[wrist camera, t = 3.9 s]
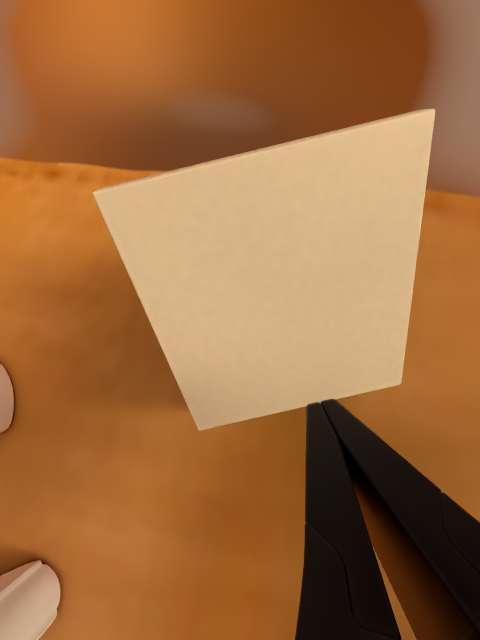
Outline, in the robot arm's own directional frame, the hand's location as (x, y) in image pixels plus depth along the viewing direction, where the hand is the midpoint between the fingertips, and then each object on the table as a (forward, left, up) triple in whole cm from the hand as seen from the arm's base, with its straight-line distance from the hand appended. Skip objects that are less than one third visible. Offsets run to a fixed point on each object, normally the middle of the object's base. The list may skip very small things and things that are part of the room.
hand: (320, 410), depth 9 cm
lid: (+3, -3, -2) cm, 5 cm away
